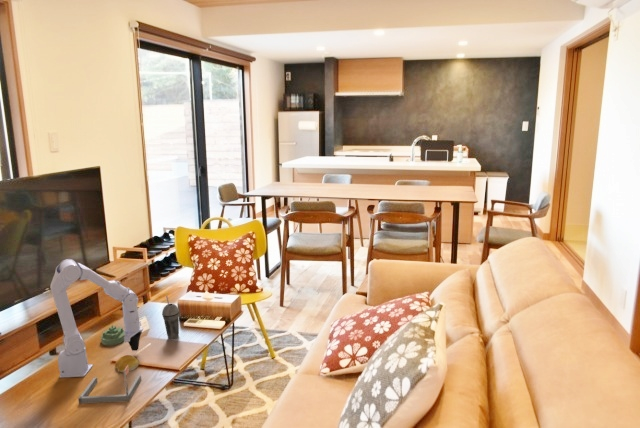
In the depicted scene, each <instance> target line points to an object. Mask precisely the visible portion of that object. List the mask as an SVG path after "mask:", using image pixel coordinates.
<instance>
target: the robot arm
mask: <svg viewBox="0 0 640 428" xmlns="http://www.w3.org/2000/svg"><path fill="white" fill-rule="evenodd" d="M77 280H79V281H84V280H88V281H90V282H92V283H93V284H95V285H97V286H99V287H100V288H102V289H103V293H104V294H105V295H108V296H109V297H111V298H113V299H114V300H115V301H118V302H121V306H122V317H123V324H124V331H125V337H124V341H123V342H124V343H128V344H129V347H130V349H131V350H132V352H135V351H138V350H139V347H140V339H141V336H142V332H143V331H144V328H143V327H141V326H142V322H141V321H140V317H139V308H138V303H139V298H138V297H139V296H137V294H136V293H135V292H134V291H133V290H132V289H131V288H130V287H126V286H124V285H122V284H121V281H119V280H114V279H113V280H108V279H106V278H105V277H103V276H101V275H100V274H98V273H97V272H95V271H94V270H92V269H91V268H89V267H88V266H86V265H84V264H82V263H80V262H76V261H75V260H74V259H71V258H67V259H63V260H62V261H61V262H60V263H59V264H58V265H57V266H56V267H55V272H54V275H53V276H52V280H51V282H50V287H49V288H50V292H51V294H52V298H53V301H54V305H55V308H56V311H57V314H58V318H59V322H60V325H61V328H62V332H63V337H62V342H63V344H64V347H65V349H64V350H61V351H60V352H59V353H58V357H57V363H58V364H57V365H58V372H59V378H60V379H62V378H76V377H77V378H78V377H79V378H80V377H81V378H82V377H85V376H86V375H87V374H88V373H89V371H90V370H91V369H92V368H93V367H94V364H89V362H88V356H87V355H88V354H87V349H86V342H85V340H83V337H82V335H81V334H82V333H80V331H79V330H78V327H77V323H76V320H75V317H74V313H73V311H72V307H71V306H72V305H71V303H70V300H69V299H70V298H69V296H68V292H67V289H68V288H69V287H70V285H71V284H73V283H75V282H77Z"/></svg>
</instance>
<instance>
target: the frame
mask: <svg viewBox="0 0 640 428" xmlns="http://www.w3.org/2000/svg"><path fill="white" fill-rule="evenodd" d="M122 373H123V377H124V378H123V379H124V388H125V394H111V395H110V394H109V395H105V394H104V395H91V396H90V393H91V392H92V390H93V389H94V388H95V387H96V385H97V384H98V382H99V381H98V377H97V376H96V377H93V378H92V380H91V381H90V382H89V383H88V385H87V386H86V387H85V389H84V390H83V392H82V393H81V394H80V395H79V397H78V404H80V405H81V404H99V403H118V402H120V403H122V402H130V400H131V399H132V397H133V396H134V393H135V392H136V390H137V388H138V387H139V385H140V384H141V381H142V376H141V374H138V375H136V378H135V380H134V381H133V383H132V385H131V386H130V388H129V389H128V382H127V375H128V373H129V367H128V365H127V367H126V368H125V370H124V371H123V372H122Z"/></svg>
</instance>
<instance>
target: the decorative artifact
mask: <svg viewBox="0 0 640 428" xmlns="http://www.w3.org/2000/svg"><path fill="white" fill-rule="evenodd" d="M124 337H125V329H123V327H121V326H119V327H117V326H116V325H115V326H114V325H111V326H109V327H108V329H106V330H104V331H103V332H102V334H101V336H100V339H101V344H102V345H104V346H108V347H109V346H116V345H119V344H121V343H123V342H124Z"/></svg>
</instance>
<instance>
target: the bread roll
mask: <svg viewBox="0 0 640 428" xmlns="http://www.w3.org/2000/svg"><path fill="white" fill-rule="evenodd" d="M139 363H140V361H139V359H138V358H136V356H134V355H130V354H127V355H122V356H121V357H120V358H118V359H117V360H116V361H115V365H114V366H115V369H117V372H120V373H124V372H123V371H124V370H125V368H126V367H127V365H128V367H129V372H131V371H134V370H136V369H137V368H138V366H139V365H140V364H139ZM129 372H128V373H129Z"/></svg>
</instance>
